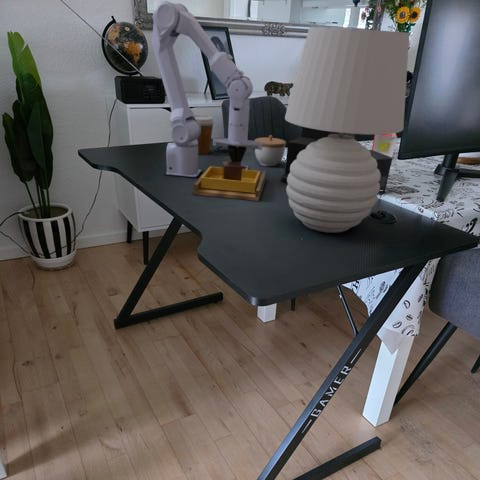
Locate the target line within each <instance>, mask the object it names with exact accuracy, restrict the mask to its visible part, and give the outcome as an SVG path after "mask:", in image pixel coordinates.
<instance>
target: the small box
mask: <svg viewBox="0 0 480 480" xmlns="http://www.w3.org/2000/svg"><path fill="white" fill-rule="evenodd" d="M368 150H369V151H370V153H371V156H372V157H373V158H374V159H376V161H377V169H379V171H380V174H381V177H380V181H379V184H380V190H383V191H380V190H379V193H378V194H377V195H381V194H386V189H387V184H388V180H389V175H390V170H391V166H392V163H393V159H394V158H393V157H389V156H387V155H384V154H381V153H379V152H376V151H373V150H372V149H368Z"/></svg>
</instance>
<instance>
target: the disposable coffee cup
mask: <svg viewBox="0 0 480 480" xmlns="http://www.w3.org/2000/svg"><path fill="white" fill-rule="evenodd" d="M194 116H195V118H196V120H197V121H198V122H199V124H200V127H201V133H200V136H199V137H198V138H197V141H198V155H208V154H210V149H211V143H212V134H213V126H214V123H215V121H214V118H213V116H208V115H200V114H199V115H198V114H197V115H196V114H194Z"/></svg>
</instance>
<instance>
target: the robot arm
mask: <svg viewBox="0 0 480 480" xmlns="http://www.w3.org/2000/svg"><path fill="white" fill-rule="evenodd" d="M152 21H153V26H152V28H153V29H152V34H151V45H152V50H153V54H154V56H155V60H156V63H157V66H158V69H159V75H160V77H161V81H162V84H163V87H164V91H165V95H166V98H167V101H168V104H169V106H170V112H171V113H170V118H169V122H170V136H171V139H172V140H173V142H168V143H167V145H166V150H165V152H166V153H165V154H166V155H165V156H166V157H165V159H166V175H168V176H177V177H186V178H187V177H188V178H197V177H198V176H199V175H200V174H201V172H202V169H199V154H198V141H197V138H198V137H199V136H200V133H201V127H200V124H199V122H198V121H197V120H196V118H195V112H194V111H193V110H192V108H191V107H190V105H189V102H188V98H187V94H186V91H185V86H184V84H183V80H182V75H181V73H180V68H179V65H178V62H177V58H176V54H175V51H174V45H175V44H176V41H177V40H178V37H179V36H180V35H184V36H187V37H189V39H190V40H192V42H193V43H194V44H195V45H196V46H197V48H198V49H200V51H201V52H202V53H203V54H204V56H205V57H206V58H207V59H208V60H209V68H210V70H211V72H212V73H213V74H214V75H215V77H216V78H217V79H218V80H219V82H220V83H221V84H222V85H223V87H224V88H226V92H227V93H226V94H227V96H228V98H229V107H228V127H227V129H228V130H227V131H228V132H227V137H213V138H212V147H217V146H218V147H227V153H228V156H229V158H230V162H240V163H242V161H243V158H244V156H245V154H246V151H247V150H248V149H249V150H250V149H251V150H255V149H258V150H262V142H258V141H255V140H250V139H248V138H249V137H248V136H249V124H250V122H249V121H250V100H251V98H250V97H251V95H252V94H253V90H254V88H253V83H252V81H251V79H250V78H249V77H248V76H246V75H245V72H244V71H243V70H240V69H239V68H238V66H237V65H236V64H235V63H234V61H233V60H234V57H233V56H232V55H231V54H227V52H226V51H219V49H218V48H217V47H216V45H215V44H214V42H213V41H212V40H211V38H210V37H209V35H208V34H207V33H206V31H205V30H204V29H203V27H202V25H200V23H199V22H198V20H197V19H196V17H195V15H193V14H192V13H191V12H190V11H189V10H188V8H187V7H186V6H185V5H184V4H183V3H180V2H179V3H175V2H171V1H169V0H163V1H161V2H159V3H158V5H157V6H156V8H155V10H154V12H153V14H152Z"/></svg>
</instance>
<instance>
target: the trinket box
mask: <svg viewBox="0 0 480 480" xmlns="http://www.w3.org/2000/svg"><path fill="white" fill-rule="evenodd" d="M254 141H258V142H262V150H258V149H254V155H255V158H256V160H257V162H259V165H261V166H265V167H276V166H278V164H279V163H280V162H281V161H282V160H283V158H284V155H285V152H286V145H287V141H286V140H284V139H281V138H275V137H273V135H271V134H270V135H268V137H258V138H255V139H254Z"/></svg>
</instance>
